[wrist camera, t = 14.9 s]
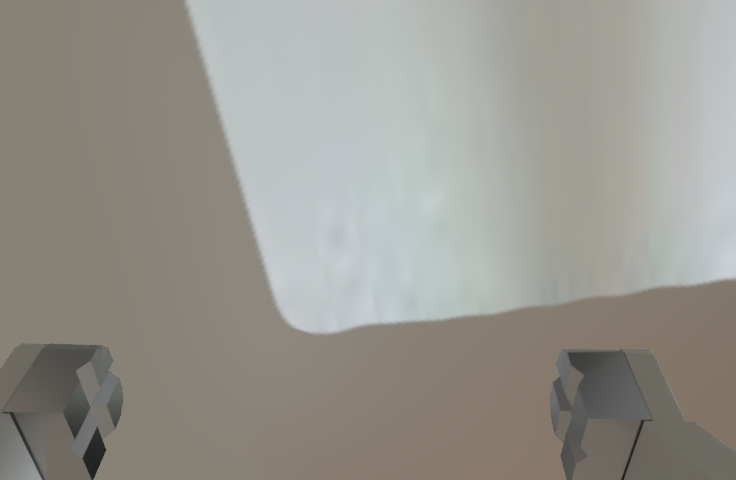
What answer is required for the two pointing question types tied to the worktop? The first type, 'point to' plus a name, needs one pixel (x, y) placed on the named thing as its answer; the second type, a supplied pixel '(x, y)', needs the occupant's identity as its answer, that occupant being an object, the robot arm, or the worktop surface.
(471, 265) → the worktop surface
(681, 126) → the worktop surface
